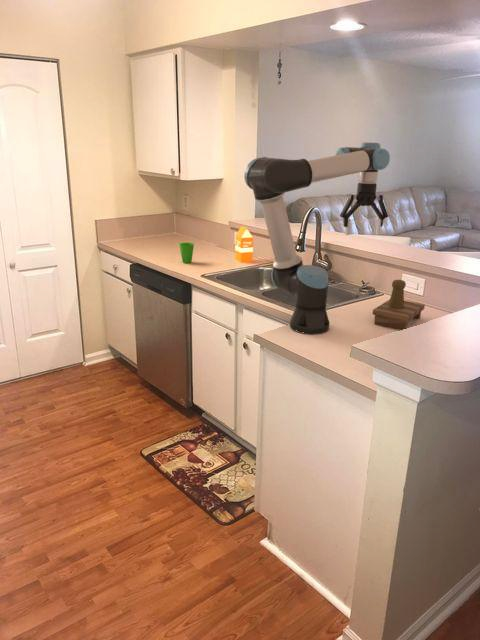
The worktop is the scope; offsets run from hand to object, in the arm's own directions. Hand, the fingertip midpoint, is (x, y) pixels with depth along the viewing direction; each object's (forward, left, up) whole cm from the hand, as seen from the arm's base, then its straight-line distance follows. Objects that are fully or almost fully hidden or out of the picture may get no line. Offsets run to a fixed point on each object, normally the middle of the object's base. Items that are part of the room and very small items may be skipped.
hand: (362, 234), depth 216 cm
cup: (-61, +96, -32) cm, 118 cm away
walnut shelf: (+8, -22, -31) cm, 39 cm away
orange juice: (-27, +95, -32) cm, 104 cm away
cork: (+7, -22, -26) cm, 34 cm away
